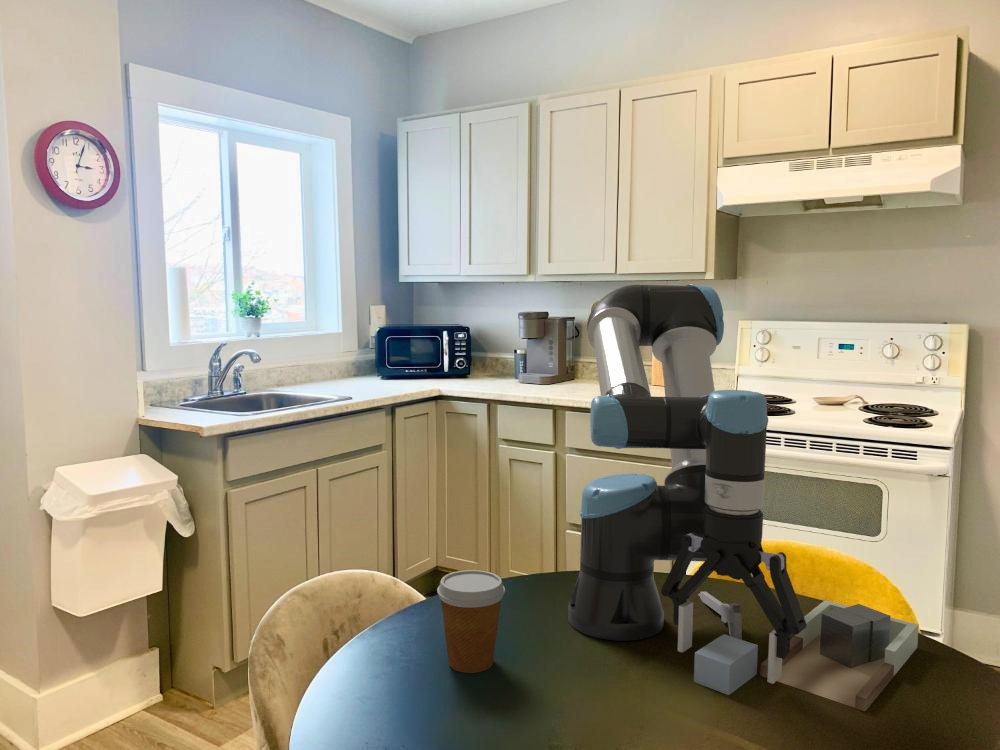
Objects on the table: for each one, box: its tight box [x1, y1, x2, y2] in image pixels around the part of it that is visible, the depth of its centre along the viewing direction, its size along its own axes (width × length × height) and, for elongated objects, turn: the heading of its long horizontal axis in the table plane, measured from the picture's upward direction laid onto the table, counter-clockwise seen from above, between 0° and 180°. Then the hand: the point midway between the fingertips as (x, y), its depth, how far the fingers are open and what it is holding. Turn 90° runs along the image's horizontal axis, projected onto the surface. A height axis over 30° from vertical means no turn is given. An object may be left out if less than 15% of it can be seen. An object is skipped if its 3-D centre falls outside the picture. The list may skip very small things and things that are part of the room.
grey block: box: [693, 633, 759, 696], centre depth 102 cm, size 5×5×8 cm
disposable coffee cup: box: [436, 569, 506, 674], centre depth 107 cm, size 10×10×12 cm
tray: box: [794, 599, 919, 678], centre depth 112 cm, size 13×12×4 cm
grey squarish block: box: [820, 609, 871, 668], centre depth 108 cm, size 5×4×6 cm
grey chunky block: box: [843, 603, 892, 662], centre depth 110 cm, size 5×4×6 cm
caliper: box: [697, 591, 743, 640], centre depth 123 cm, size 20×1×6 cm, turn 1°
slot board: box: [759, 633, 918, 712], centre depth 108 cm, size 13×24×2 cm, turn 138°
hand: (727, 663), depth 103 cm, fingers open, 12 cm apart
